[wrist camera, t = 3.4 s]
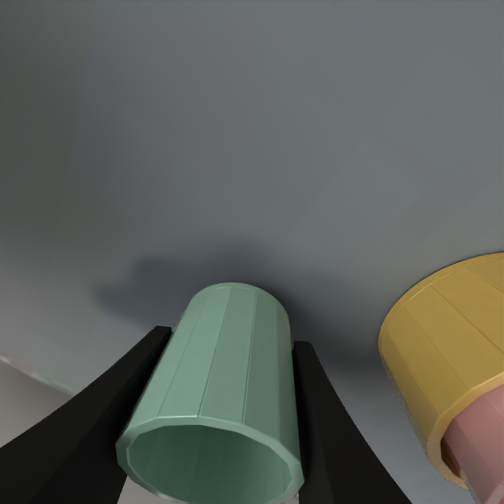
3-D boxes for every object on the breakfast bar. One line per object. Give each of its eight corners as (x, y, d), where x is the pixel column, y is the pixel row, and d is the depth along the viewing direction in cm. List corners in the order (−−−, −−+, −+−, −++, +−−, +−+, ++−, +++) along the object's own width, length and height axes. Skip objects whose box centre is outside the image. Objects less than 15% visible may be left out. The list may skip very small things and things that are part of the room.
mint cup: (312, 319, 11) (346, 473, 6) (251, 376, 13) (237, 526, 8) (216, 261, 10) (160, 387, 5) (167, 333, 12) (92, 472, 7)
